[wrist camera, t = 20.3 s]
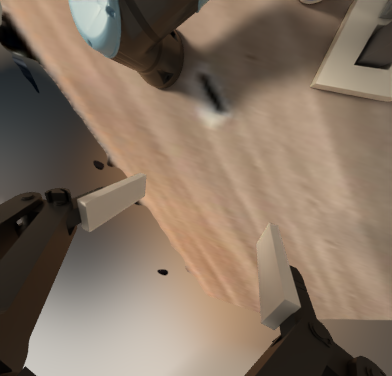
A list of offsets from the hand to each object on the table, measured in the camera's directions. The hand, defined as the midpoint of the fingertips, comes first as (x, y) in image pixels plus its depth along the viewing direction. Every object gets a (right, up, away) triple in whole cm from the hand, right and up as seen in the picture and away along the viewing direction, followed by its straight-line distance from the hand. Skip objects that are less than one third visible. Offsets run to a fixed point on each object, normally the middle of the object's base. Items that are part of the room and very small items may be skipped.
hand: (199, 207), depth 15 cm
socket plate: (+37, +30, +16) cm, 50 cm away
